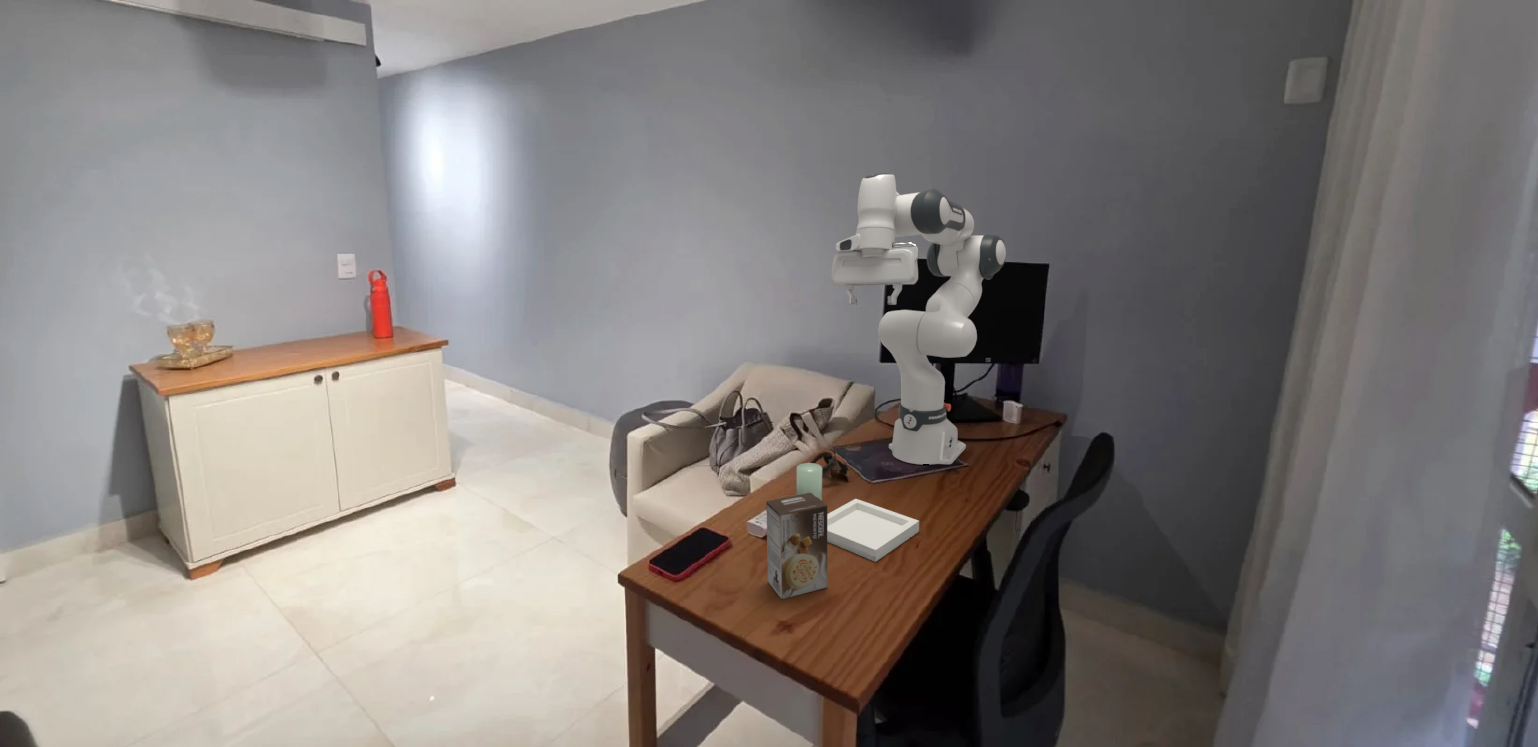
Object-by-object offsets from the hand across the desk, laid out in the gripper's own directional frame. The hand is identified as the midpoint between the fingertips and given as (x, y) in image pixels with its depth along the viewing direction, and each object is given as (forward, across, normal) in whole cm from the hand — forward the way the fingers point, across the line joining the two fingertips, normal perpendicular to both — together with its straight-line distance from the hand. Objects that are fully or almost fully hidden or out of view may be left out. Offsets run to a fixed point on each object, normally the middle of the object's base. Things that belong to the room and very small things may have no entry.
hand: (872, 304), depth 152 cm
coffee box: (+54, -4, +37) cm, 66 cm away
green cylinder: (+47, +8, +12) cm, 49 cm away
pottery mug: (+42, +12, -8) cm, 45 cm away
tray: (+49, -6, +14) cm, 51 cm away
